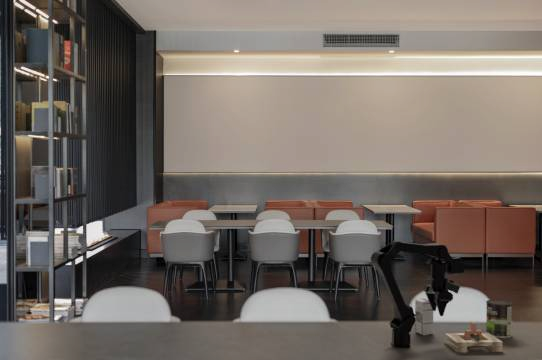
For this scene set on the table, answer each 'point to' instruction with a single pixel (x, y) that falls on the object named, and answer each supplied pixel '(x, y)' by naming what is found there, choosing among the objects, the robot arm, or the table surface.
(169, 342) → the table surface
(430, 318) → the syrup box
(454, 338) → the frame with crossbar
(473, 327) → the tee shaped peg
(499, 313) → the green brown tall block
